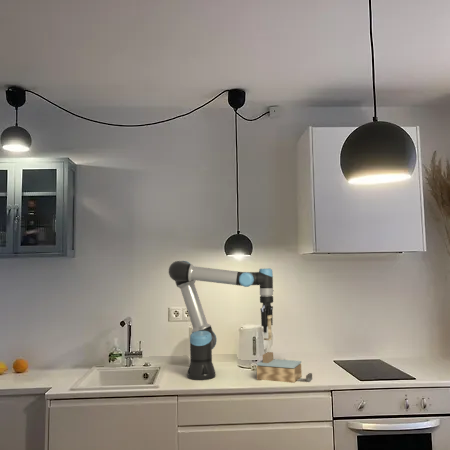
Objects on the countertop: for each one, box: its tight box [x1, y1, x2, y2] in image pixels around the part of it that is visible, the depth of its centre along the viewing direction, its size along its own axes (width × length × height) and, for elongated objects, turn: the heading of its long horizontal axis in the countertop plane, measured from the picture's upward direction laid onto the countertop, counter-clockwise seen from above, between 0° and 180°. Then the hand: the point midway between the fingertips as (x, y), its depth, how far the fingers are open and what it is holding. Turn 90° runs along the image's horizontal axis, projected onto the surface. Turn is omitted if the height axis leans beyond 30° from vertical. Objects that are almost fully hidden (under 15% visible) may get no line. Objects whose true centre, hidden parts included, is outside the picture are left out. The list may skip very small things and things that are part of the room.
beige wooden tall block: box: [262, 315, 273, 341], centre depth 252 cm, size 4×4×14 cm
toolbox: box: [256, 363, 313, 384], centre depth 231 cm, size 26×13×7 cm, turn 64°
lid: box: [256, 351, 302, 368], centre depth 233 cm, size 20×13×5 cm, turn 64°
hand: (267, 337), depth 251 cm, fingers closed on beige wooden tall block, 3 cm apart
